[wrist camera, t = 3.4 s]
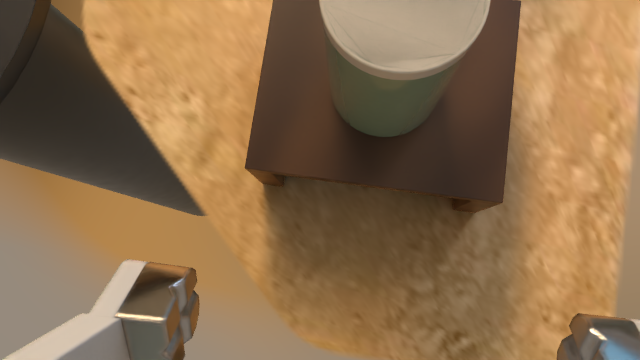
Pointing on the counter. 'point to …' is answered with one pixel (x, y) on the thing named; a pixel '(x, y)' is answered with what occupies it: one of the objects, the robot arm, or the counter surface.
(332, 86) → the cup
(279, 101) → the wooden footed stand
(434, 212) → the counter surface
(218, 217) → the counter surface
